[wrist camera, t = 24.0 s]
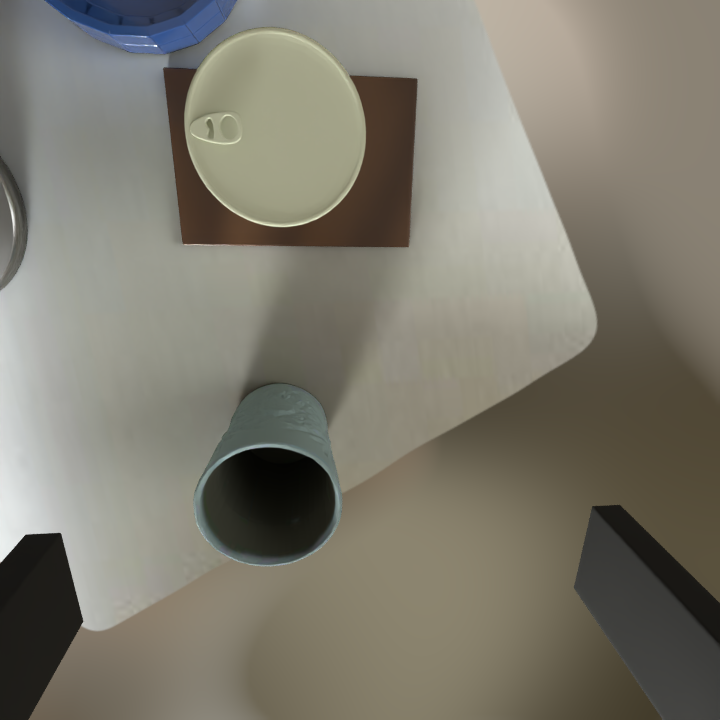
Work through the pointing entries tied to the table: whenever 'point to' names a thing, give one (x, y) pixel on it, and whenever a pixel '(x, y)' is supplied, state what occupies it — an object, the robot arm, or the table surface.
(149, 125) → the table surface
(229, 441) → the blue cup
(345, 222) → the board
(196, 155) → the can
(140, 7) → the bowl
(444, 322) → the table surface
